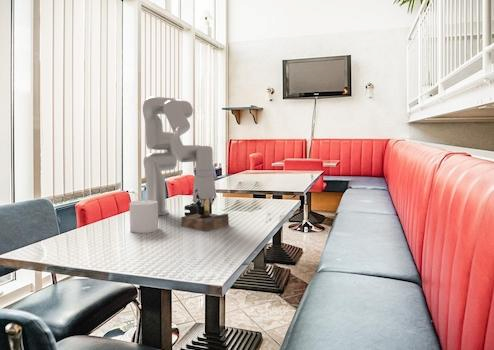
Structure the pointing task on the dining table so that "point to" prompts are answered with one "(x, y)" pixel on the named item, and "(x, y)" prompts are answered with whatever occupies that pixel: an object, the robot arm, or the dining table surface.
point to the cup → (143, 216)
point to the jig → (205, 221)
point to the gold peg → (206, 208)
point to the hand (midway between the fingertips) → (205, 213)
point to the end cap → (191, 209)
